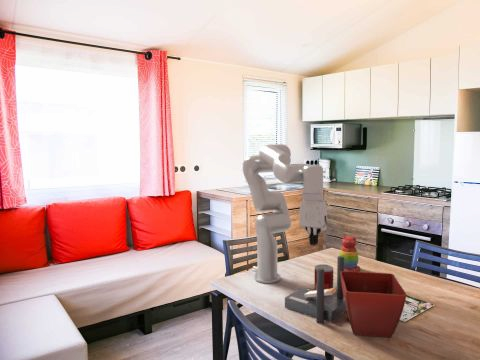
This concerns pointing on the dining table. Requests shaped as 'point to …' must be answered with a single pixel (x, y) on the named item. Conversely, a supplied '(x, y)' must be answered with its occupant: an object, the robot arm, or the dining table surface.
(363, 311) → the plant pot
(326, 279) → the canned food
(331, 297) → the breaker panel
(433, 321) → the dining table surface
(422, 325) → the dining table surface
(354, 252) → the stacking bear
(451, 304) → the dining table surface
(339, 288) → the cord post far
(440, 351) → the dining table surface
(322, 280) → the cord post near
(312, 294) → the paddle
